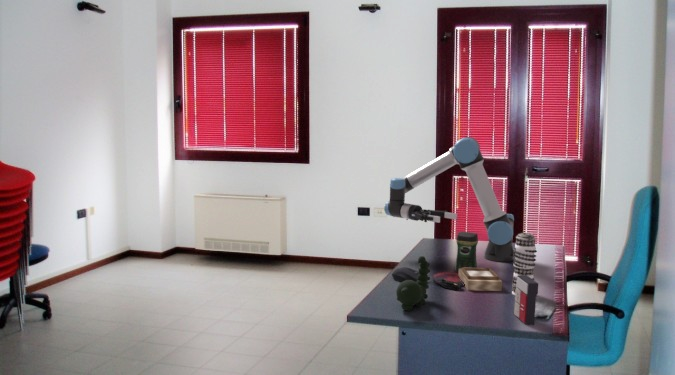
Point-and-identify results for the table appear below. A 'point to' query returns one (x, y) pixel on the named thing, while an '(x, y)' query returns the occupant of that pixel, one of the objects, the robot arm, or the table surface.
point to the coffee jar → (466, 250)
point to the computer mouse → (412, 274)
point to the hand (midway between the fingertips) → (448, 218)
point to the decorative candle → (523, 257)
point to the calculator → (525, 299)
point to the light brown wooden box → (480, 279)
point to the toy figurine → (414, 287)
